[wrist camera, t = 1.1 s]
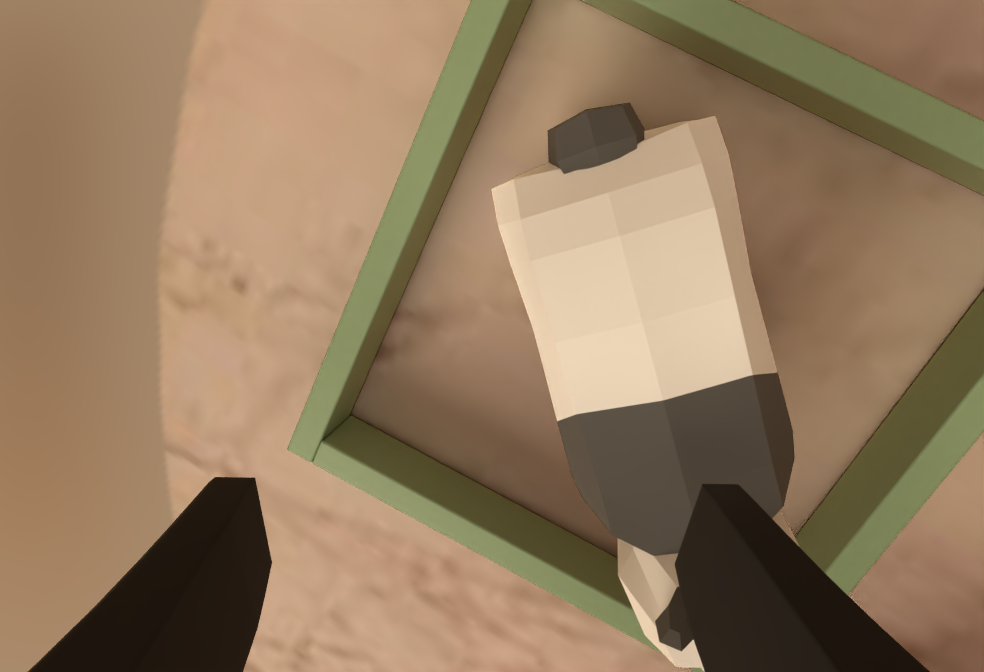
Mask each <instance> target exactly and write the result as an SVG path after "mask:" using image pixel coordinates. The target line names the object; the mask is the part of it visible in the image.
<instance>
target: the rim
mask: <svg viewBox="0 0 984 672" xmlns="http://www.w3.org/2000/svg"><path fill="white" fill-rule="evenodd" d="M531 1H532V0H471V2H470V4H469V7H468V9H467V12H466V14H465V17H464V19H463V21H462V24H461V26H460V29H459V31H458V34H457V36H456V38H455V41H454V43H453V46H452V48H451V51H450V53H449V56H448V58H447V60H446V63H445V65H444V68H443V70H442V73H441V75H440V78H439V80H438V82H437V85H436V87H435V90H434V92H433V95H432V97H431V99H430V102H429V104H428V107H427V109H426V112H425V114H424V117H423V119H422V121H421V124H420V126H419V129H418V131H417V134H416V136H415V139H414V141H413V143H412V146H411V148H410V151H409V153H408V156H407V158H406V160H405V163H404V165H403V168H402V170H401V173H400V175H399V178H398V180H397V182H396V185H395V187H394V190H393V192H392V195H391V197H390V200H389V202H388V204H387V207H386V209H385V212H384V214H383V217H382V219H381V221H380V224H379V226H378V229H377V231H376V234H375V236H374V239H373V241H372V243H371V246H370V248H369V251H368V253H367V256H366V258H365V260H364V263H363V265H362V268H361V270H360V273H359V275H358V278H357V280H356V282H355V285H354V287H353V290H352V292H351V295H350V297H349V300H348V302H347V304H346V307H345V309H344V312H343V314H342V317H341V319H340V321H339V324H338V326H337V329H336V331H335V334H334V336H333V339H332V341H331V343H330V346H329V348H328V351H327V353H326V356H325V358H324V361H323V363H322V365H321V368H320V370H319V373H318V375H317V378H316V380H315V382H314V385H313V387H312V390H311V392H310V395H309V397H308V400H307V402H306V404H305V407H304V409H303V412H302V414H301V417H300V419H299V422H298V424H297V426H296V429H295V431H294V434H293V436H292V439H291V441H290V443H289V446H288V450H289V451H291V452H292V453H294V454H296V455H298V456H300V457H302V458H304V459H305V460H307V461H309V462H312V461H313V464H314V465H316V466H318V467H320V468H322V469H324V470H326V471H327V472H329V473H331V474H333V475H335V476H337V477H338V478H340V479H342V480H344V481H346V482H348V483H349V484H351V485H353V486H355V487H357V488H359V489H361V490H362V491H364V492H366V493H368V494H370V495H372V496H373V497H375V498H377V499H379V500H381V501H383V502H384V503H386V504H388V505H390V506H392V507H394V508H395V509H397V510H399V511H401V512H403V513H405V514H407V515H408V516H410V517H412V518H414V519H416V520H418V521H419V522H421V523H423V524H425V525H427V526H429V527H430V528H432V529H434V530H436V531H438V532H440V533H441V534H443V535H445V536H447V537H449V538H451V539H453V540H454V541H456V542H458V543H460V544H462V545H464V546H465V547H467V548H469V549H471V550H473V551H475V552H476V553H478V554H480V555H482V556H484V557H486V558H487V559H489V560H491V561H493V562H495V563H497V564H499V565H500V566H502V567H504V568H506V569H508V570H510V571H511V572H513V573H515V574H517V575H519V576H521V577H522V578H524V579H526V580H528V581H530V582H532V583H533V584H535V585H537V586H539V587H541V588H543V589H545V590H546V591H548V592H550V593H552V594H554V595H556V596H557V597H559V598H561V599H563V600H565V601H567V602H568V603H570V604H572V605H574V606H576V607H578V608H580V609H581V610H583V611H585V612H587V613H589V614H591V615H592V616H594V617H596V618H598V619H600V620H602V621H603V622H605V623H607V624H609V625H611V626H613V627H614V628H616V629H618V630H620V631H622V632H624V633H626V634H627V635H629V636H631V637H633V638H635V639H637V640H638V641H640V642H642V643H644V644H646V645H648V646H649V647H651V648H653V649H655V650H657V651H659V652H660V653H662V652H661V651H660V650H659V649H658V648H657V647H656V646H655V645H654V644H653V643H652V642H651V641H650V640H649V639H648V638H647V637H646V636H645V635H644V632H643V630H642V628H641V626H640V623H639V621H638V619H637V617H636V614H635V612H634V610H633V608H632V605H631V603H630V601H629V599H628V596H627V594H626V592H625V590H624V587H623V585H622V583H621V581H620V578H619V576H618V558H616V557H614V556H612V555H611V554H609V553H607V552H605V551H603V550H601V549H599V548H597V547H596V546H594V545H592V544H590V543H588V542H586V541H584V540H583V539H581V538H579V537H577V536H575V535H573V534H571V533H570V532H568V531H566V530H564V529H562V528H560V527H558V526H556V525H555V524H553V523H551V522H549V521H547V520H545V519H543V518H542V517H540V516H538V515H536V514H534V513H532V512H530V511H529V510H527V509H525V508H523V507H521V506H519V505H517V504H515V503H514V502H512V501H510V500H508V499H506V498H504V497H502V496H501V495H499V494H497V493H495V492H493V491H491V490H489V489H488V488H486V487H484V486H482V485H480V484H478V483H476V482H474V481H473V480H471V479H469V478H467V477H465V476H463V475H461V474H460V473H458V472H456V471H454V470H452V469H450V468H448V467H447V466H445V465H443V464H441V463H439V462H437V461H435V460H433V459H432V458H430V457H428V456H426V455H424V454H422V453H420V452H419V451H417V450H415V449H413V448H411V447H409V446H407V445H406V444H404V443H402V442H400V441H398V440H396V439H394V438H392V437H391V436H389V435H387V434H385V433H383V432H381V431H379V430H378V429H376V428H374V427H372V426H370V425H368V424H366V423H365V422H363V421H361V420H359V419H357V418H355V417H353V416H349V415H350V413H351V411H352V408H353V406H354V404H355V401H356V399H357V397H358V395H359V392H360V390H361V388H362V386H363V383H364V381H365V379H366V376H367V374H368V372H369V370H370V367H371V365H372V363H373V360H374V358H375V356H376V354H377V351H378V349H379V347H380V345H381V342H382V340H383V338H384V335H385V333H386V331H387V329H388V326H389V324H390V322H391V319H392V317H393V315H394V313H395V310H396V308H397V306H398V303H399V301H400V299H401V297H402V294H403V292H404V290H405V288H406V285H407V283H408V281H409V278H410V276H411V274H412V272H413V269H414V267H415V265H416V262H417V260H418V258H419V256H420V253H421V251H422V249H423V247H424V244H425V242H426V240H427V237H428V235H429V233H430V231H431V228H432V226H433V224H434V221H435V219H436V217H437V215H438V212H439V210H440V208H441V206H442V203H443V201H444V199H445V196H446V194H447V192H448V190H449V187H450V185H451V183H452V180H453V178H454V176H455V174H456V171H457V169H458V167H459V165H460V162H461V160H462V158H463V155H464V153H465V151H466V149H467V146H468V144H469V142H470V139H471V137H472V135H473V133H474V130H475V128H476V126H477V124H478V121H479V119H480V117H481V114H482V112H483V110H484V108H485V105H486V103H487V101H488V98H489V96H490V94H491V92H492V89H493V87H494V85H495V83H496V80H497V78H498V76H499V73H500V71H501V69H502V67H503V64H504V62H505V60H506V57H507V55H508V53H509V51H510V48H511V46H512V44H513V42H514V39H515V37H516V35H517V32H518V30H519V28H520V26H521V23H522V21H523V19H524V16H525V14H526V12H527V10H528V7H529V5H530V3H531ZM581 1H583V2H585V3H587V4H589V5H591V6H593V7H596V8H598V9H600V10H602V11H604V12H606V13H608V14H610V15H612V16H614V17H616V18H618V19H620V20H622V21H624V22H627V23H629V24H631V25H633V26H635V27H637V28H639V29H641V30H643V31H645V32H647V33H649V34H651V35H653V36H655V37H657V38H660V39H662V40H664V41H666V42H668V43H670V44H672V45H674V46H676V47H678V48H680V49H682V50H684V51H686V52H688V53H691V54H693V55H695V56H697V57H699V58H701V59H703V60H705V61H707V62H709V63H711V64H713V65H715V66H717V67H719V68H721V69H724V70H726V71H728V72H730V73H732V74H734V75H736V76H738V77H740V78H742V79H744V80H746V81H748V82H750V83H752V84H755V85H757V86H759V87H761V88H763V89H765V90H767V91H769V92H771V93H773V94H775V95H777V96H779V97H781V98H783V99H785V100H788V101H790V102H792V103H794V104H796V105H798V106H800V107H802V108H804V109H806V110H808V111H810V112H812V113H814V114H816V115H819V116H821V117H823V118H825V119H827V120H829V121H831V122H833V123H835V124H837V125H839V126H841V127H843V128H845V129H847V130H849V131H852V132H854V133H856V134H858V135H860V136H862V137H864V138H866V139H868V140H870V141H872V142H874V143H876V144H878V145H880V146H883V147H885V148H887V149H889V150H891V151H893V152H895V153H897V154H899V155H901V156H903V157H905V158H907V159H909V160H911V161H913V162H916V163H918V164H920V165H922V166H924V167H926V168H928V169H930V170H932V171H934V172H936V173H938V174H940V175H942V176H944V177H947V178H949V179H951V180H953V181H955V182H957V183H959V184H961V185H963V186H965V187H967V188H969V189H971V190H973V191H975V192H978V193H980V194H982V195H984V120H982V119H980V118H978V117H976V116H974V115H971V114H969V113H967V112H965V111H963V110H961V109H959V108H957V107H955V106H953V105H951V104H948V103H946V102H944V101H942V100H940V99H938V98H936V97H934V96H932V95H930V94H927V93H925V92H923V91H921V90H919V89H917V88H915V87H913V86H911V85H909V84H907V83H904V82H902V81H900V80H898V79H896V78H894V77H892V76H890V75H888V74H886V73H883V72H881V71H879V70H877V69H875V68H873V67H871V66H869V65H867V64H865V63H863V62H860V61H858V60H856V59H854V58H852V57H850V56H848V55H846V54H844V53H842V52H840V51H837V50H835V49H833V48H831V47H829V46H827V45H825V44H823V43H821V42H819V41H816V40H814V39H812V38H810V37H808V36H806V35H804V34H802V33H800V32H798V31H796V30H793V29H791V28H789V27H787V26H785V25H783V24H781V23H779V22H777V21H775V20H772V19H770V18H768V17H766V16H764V15H762V14H760V13H758V12H756V11H754V10H752V9H749V8H747V7H745V6H743V5H741V4H739V3H737V2H735V1H733V0H581ZM983 432H984V291H983V292H982V293H981V295H980V296H979V297H978V299H977V300H976V301H975V303H974V304H973V305H972V306H971V308H970V309H969V310H968V312H967V313H966V314H965V316H964V317H963V318H962V320H961V321H960V322H959V324H958V325H957V326H956V327H955V329H954V330H953V331H952V333H951V334H950V335H949V337H948V338H947V339H946V341H945V342H944V343H943V344H942V346H941V347H940V348H939V350H938V351H937V352H936V354H935V355H934V356H933V358H932V359H931V360H930V362H929V363H928V364H927V365H926V367H925V368H924V369H923V371H922V372H921V373H920V375H919V376H918V377H917V379H916V380H915V381H914V383H913V384H912V385H911V386H910V388H909V389H908V390H907V392H906V393H905V394H904V396H903V397H902V398H901V400H900V401H899V402H898V403H897V405H896V406H895V407H894V409H893V410H892V411H891V413H890V414H889V415H888V417H887V418H886V419H885V421H884V422H883V423H882V424H881V426H880V427H879V428H878V430H877V431H876V432H875V434H874V435H873V436H872V438H871V439H870V440H869V441H868V443H867V444H866V445H865V447H864V448H863V449H862V451H861V452H860V453H859V455H858V456H857V457H856V459H855V460H854V461H853V462H852V464H851V465H850V466H849V468H848V469H847V470H846V472H845V473H844V474H843V476H842V477H841V478H840V480H839V481H838V482H837V483H836V485H835V486H834V487H833V489H832V490H831V491H830V493H829V494H828V495H827V497H826V498H825V499H824V500H823V502H822V503H821V504H820V506H819V507H818V508H817V510H816V511H815V512H814V514H813V515H812V516H811V518H810V519H809V520H808V521H807V523H806V524H805V525H804V527H803V528H802V529H801V531H800V532H799V533H798V535H797V536H796V537H795V539H796V540H797V542H798V544H799V546H800V548H801V549H802V550H803V551H804V552H805V553H806V554H807V555H808V556H809V557H810V558H811V559H812V560H813V561H814V562H815V563H816V564H817V565H818V566H819V567H820V568H821V569H822V570H823V572H824V573H825V574H826V575H827V576H828V577H829V578H830V579H831V580H832V581H834V582H835V583H836V584H837V585H838V586H839V587H840V588H841V589H842V590H843V591H844V592H845V593H846V594H847V595H849V594H850V592H851V591H852V590H853V589H854V587H855V586H856V585H857V584H858V583H859V581H860V580H861V579H862V578H863V577H864V575H865V574H866V573H867V572H868V571H869V569H870V568H871V567H872V566H873V565H874V563H875V562H876V561H877V560H878V558H879V557H880V556H881V555H882V554H883V552H884V551H885V550H886V549H887V548H888V546H889V545H890V544H891V543H892V542H893V540H894V539H895V538H896V537H897V536H898V534H899V533H900V532H901V531H902V530H903V528H904V527H905V526H906V525H907V523H908V522H909V521H910V520H911V519H912V517H913V516H914V515H915V514H916V513H917V511H918V510H919V509H920V508H921V507H922V505H923V504H924V503H925V502H926V501H927V499H928V498H929V497H930V496H931V494H932V493H933V492H934V491H935V490H936V488H937V487H938V486H939V485H940V484H941V482H942V481H943V480H944V479H945V478H946V476H947V475H948V474H949V473H950V472H951V470H952V469H953V468H954V467H955V466H956V464H957V463H958V462H959V461H960V459H961V458H962V457H963V456H964V455H965V453H966V452H967V451H968V450H969V449H970V447H971V446H972V445H973V444H974V443H975V441H976V440H977V439H978V438H979V437H980V435H981V434H982V433H983ZM662 654H663V653H662ZM690 669H692V670H694V671H695V672H704V671H703V670H702V669H701V668H690Z"/></svg>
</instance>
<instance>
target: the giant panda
mask: <svg viewBox="0 0 984 672" xmlns="http://www.w3.org/2000/svg"><path fill="white" fill-rule="evenodd" d="M548 155H549V163H547V164H544V165H542V166H540V167H537V168H535V169H532V170H530V171H527V172H525V173H522V174H520V175H517V176H516V177H514V178H513V179H511V180H509V181H508V182H506V183H504V184H501V185H499V186H497V187H495V188H492V189H491V191H492V196H493V201H494V207H495V212H496V217H497V222H498V227H499V230H500V233H501V236H502V239H503V242H504V246H505V249H506V252H507V255H508V258H509V261H510V264H511V267H512V270H513V273H514V276H515V279H516V282H517V284H518V287H519V290H520V293H521V296H522V299H523V302H524V305H525V308H526V310H527V313H528V316H529V319H530V322H531V325H532V328H533V331H534V335H535V338H536V342H537V346H538V350H539V354H540V357H541V361H542V365H543V369H544V373H545V377H546V380H547V384H548V388H549V392H550V396H551V399H552V403H553V407H554V411H555V415H556V419H557V422H558V426H559V430H560V433H561V437H562V441H563V445H564V448H565V452H566V456H567V459H568V463H569V467H570V471H571V474H572V477H573V479H574V481H575V483H576V485H577V487H578V490H579V492H580V494H581V496H582V498H583V499H584V501H585V502H586V503H587V504H588V505H589V507H590V508H591V509H592V510H593V512H594V513H595V514H596V515H597V517H598V518H599V519H600V520H601V522H602V523H603V524H604V525H605V527H606V528H607V529H608V530H609V532H610V533H611V534H612V535H613V536H615V537H617V541H618V576H619V578H620V581H621V583H622V585H623V587H624V590H625V592H626V594H627V596H628V599H629V601H630V603H631V605H632V608H633V610H634V612H635V614H636V617H637V619H638V621H639V623H640V626H641V628H642V630H643V632H644V635H645V636H646V637H647V638H648V639H649V640H650V641H651V642H652V643H653V644H654V645H655V646H656V647H657V648H658V649H659V650H660V651H661V652H662V653H663V654H664V655H665V656H666V657H667V658H668V659H669V660H670V661H671V662H672V663H673V664H674V665H675V666H676V667H688V668H701V669H702V670H703V671H704V668H703V665H702V662H701V659H700V657H699V654H698V651H697V648H696V645H695V643H694V640H693V637H692V634H691V631H690V628H689V625H688V621H687V617H686V612H685V608H684V604H683V600H682V596H681V592H680V587H679V582H678V578H677V573H676V569H675V561H676V558H677V556H678V553H679V550H680V547H681V544H682V541H683V538H684V535H685V532H686V530H687V527H688V524H689V521H690V518H691V515H692V512H693V509H694V507H695V504H696V501H697V498H698V495H699V492H700V489H701V486H702V484H739V485H740V486H741V487H742V488H743V489H744V490H745V491H746V492H747V493H748V494H749V495H750V496H751V497H752V498H753V499H754V500H755V502H756V503H757V504H758V505H759V506H760V507H761V508H762V509H763V510H764V511H765V512H766V513H767V514H768V515H769V516H770V517H771V518H772V519H773V520H774V521H775V522H776V523H777V524H778V525H779V526H780V527H781V528H782V530H783V531H784V532H785V533H786V534H787V535H788V536H789V537H790V538H791V539H792V540H793V541H794V542H795V543H796V544H797V545H798V546H799V544H798V542H797V540H796V539H795V537H794V535H793V533H792V531H791V529H790V528H789V526H788V524H787V522H786V520H785V518H784V517H783V515H782V513H781V511H780V510H781V508H782V507H783V506H784V502H785V497H786V493H787V488H788V484H789V480H790V475H791V471H792V466H793V462H794V443H793V430H792V426H791V422H790V418H789V415H788V411H787V407H786V403H785V399H784V395H783V391H782V388H781V384H780V380H779V376H778V372H777V368H776V365H775V361H774V357H773V353H772V350H771V346H770V342H769V338H768V335H767V331H766V327H765V323H764V320H763V316H762V312H761V308H760V305H759V301H758V297H757V294H756V290H755V286H754V282H753V279H752V275H751V270H750V264H749V259H748V253H747V247H746V242H745V236H744V231H743V225H742V220H741V214H740V209H739V203H738V198H737V192H736V188H735V183H734V178H733V173H732V168H731V163H730V158H729V154H728V151H727V148H726V145H725V142H724V139H723V136H722V133H721V131H720V128H719V125H718V122H717V119H716V116H712V117H708V118H704V119H699V120H691V121H682V122H678V123H674V124H670V125H666V126H662V127H658V128H654V129H651V130H647V131H644V127H643V126H642V124H641V122H640V120H639V118H638V117H637V115H636V113H635V111H634V109H633V107H632V106H631V104H630V103H624V104H617V105H611V106H605V107H599V108H593V109H586V110H584V111H583V112H581V113H579V114H577V115H575V116H574V117H572V118H570V119H568V120H566V121H564V122H563V123H561V124H559V125H557V126H555V127H554V128H552V129H550V130H548ZM799 547H800V546H799ZM704 672H705V671H704Z"/></svg>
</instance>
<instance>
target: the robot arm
mask: <svg viewBox="0 0 984 672" xmlns="http://www.w3.org/2000/svg"><path fill="white" fill-rule="evenodd" d="M271 565H272V561H271V556H270V551H269V546H268V541H267V536H266V531H265V526H264V521H263V516H262V511H261V506H260V501H259V496H258V491H257V486H256V481H255V478H233V477H215V478H214V479H212V480H211V481H210V482H209V483H208V484H207V485H206V486H205V487H204V489H203V490H202V491H201V492H200V493H199V494H198V495H197V496H196V498H195V499H194V500H193V501H192V502H191V503H190V504H189V505H188V507H187V508H186V509H185V510H184V511H183V512H182V513H181V514H180V516H179V517H178V518H177V519H176V520H175V521H174V522H173V523H172V525H171V526H170V527H169V528H168V529H167V530H166V531H165V532H164V534H163V535H162V536H161V537H160V538H159V539H158V540H157V541H156V542H155V543H154V545H153V546H152V547H151V548H150V549H149V550H148V551H147V552H146V553H145V554H144V555H143V557H142V558H141V559H140V560H139V561H138V562H137V563H136V564H135V565H134V566H133V567H132V568H131V569H130V570H129V571H128V572H127V573H126V574H125V575H124V576H123V578H122V579H121V580H120V581H119V582H118V583H117V584H116V585H115V586H114V587H113V588H112V589H111V590H110V591H109V592H108V593H107V594H106V595H105V597H104V598H103V599H102V600H101V601H100V602H99V603H98V604H97V605H96V606H95V607H94V608H93V609H92V610H91V611H90V612H89V613H88V614H87V615H86V616H85V617H84V618H83V619H82V620H81V621H80V622H79V623H78V624H77V625H76V626H75V627H73V628H72V629H71V630H70V631H69V632H68V633H67V634H66V635H65V636H64V637H63V638H62V639H61V640H60V641H59V642H58V643H57V644H56V645H55V646H54V647H53V648H52V649H51V650H50V651H49V652H48V653H47V654H46V655H45V656H44V657H43V658H42V659H41V660H40V661H39V662H38V663H37V664H36V665H34V666H33V667H32V668H31V669H30V670H29V671H28V672H243V670H244V667H245V664H246V661H247V658H248V655H249V652H250V649H251V646H252V643H253V640H254V637H255V634H256V631H257V628H258V623H259V619H260V615H261V610H262V606H263V602H264V598H265V593H266V588H267V583H268V579H269V574H270V569H271ZM675 569H676V573H677V578H678V582H679V587H680V592H681V596H682V600H683V604H684V608H685V612H686V617H687V621H688V625H689V628H690V631H691V634H692V637H693V640H694V643H695V645H696V648H697V651H698V654H699V657H700V659H701V662H702V665H703V668H704V671H705V672H930V671H928V670H927V669H926V668H925V667H924V666H923V665H922V664H921V663H919V662H918V661H917V660H916V659H915V658H914V657H913V656H912V655H911V654H910V653H908V652H907V651H906V650H905V649H904V648H903V647H902V646H901V645H900V644H899V643H897V642H896V641H895V640H894V639H893V638H892V637H891V636H890V635H889V634H888V633H886V632H885V631H884V630H883V629H882V628H881V627H880V626H879V625H878V624H877V623H876V622H875V621H874V620H873V619H872V618H871V617H869V616H868V615H867V614H866V613H865V612H864V611H863V610H862V609H861V608H860V607H859V606H858V605H857V604H856V603H855V602H854V601H853V600H852V599H851V598H850V597H849V596H848V595H847V594H846V593H845V592H844V591H843V590H842V589H841V588H840V587H839V586H838V585H837V584H836V583H835V582H834V581H832V580H831V579H830V578H829V577H828V576H827V575H826V574H825V573H824V572H823V570H822V569H821V568H820V567H819V566H818V565H817V564H816V563H815V562H814V561H813V560H812V559H811V558H810V557H809V556H808V555H807V554H806V553H805V552H804V551H803V550H802V549H801V548H800V547H799V546H798V545H797V544H796V543H795V542H794V541H793V540H792V539H791V538H790V537H789V536H788V535H787V534H786V533H785V532H784V531H783V530H782V528H781V527H780V526H779V525H778V524H777V523H776V522H775V521H774V520H773V519H772V518H771V517H770V516H769V515H768V514H767V513H766V512H765V511H764V510H763V509H762V508H761V507H760V506H759V505H758V504H757V503H756V502H755V500H754V499H753V498H752V497H751V496H750V495H749V494H748V493H747V492H746V491H745V490H744V489H743V488H742V487H741V486H740V485H739V484H702V486H701V489H700V492H699V495H698V498H697V501H696V504H695V507H694V509H693V512H692V515H691V518H690V521H689V524H688V527H687V530H686V532H685V535H684V538H683V541H682V544H681V547H680V550H679V553H678V556H677V558H676V561H675Z"/></svg>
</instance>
